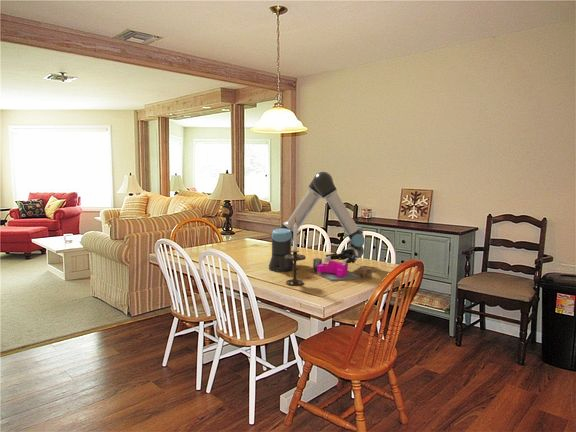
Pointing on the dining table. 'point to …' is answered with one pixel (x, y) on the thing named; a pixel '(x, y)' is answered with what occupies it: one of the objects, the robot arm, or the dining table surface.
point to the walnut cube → (365, 272)
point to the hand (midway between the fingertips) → (334, 261)
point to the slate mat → (334, 277)
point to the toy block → (333, 268)
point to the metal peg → (316, 263)
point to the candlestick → (294, 259)
